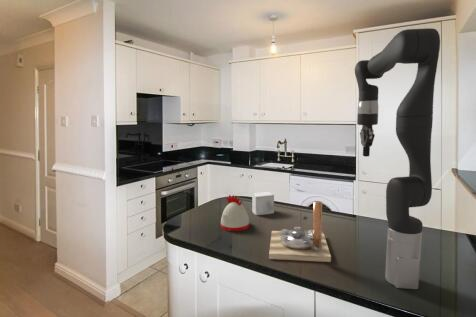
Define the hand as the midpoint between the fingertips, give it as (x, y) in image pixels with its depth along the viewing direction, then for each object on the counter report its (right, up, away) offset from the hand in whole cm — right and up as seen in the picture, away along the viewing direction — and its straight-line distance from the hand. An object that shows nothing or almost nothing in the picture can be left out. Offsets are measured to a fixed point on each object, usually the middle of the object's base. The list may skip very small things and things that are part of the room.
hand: (366, 156), depth 122 cm
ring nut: (-26, -34, -5) cm, 44 cm away
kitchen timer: (-53, -33, +24) cm, 67 cm away
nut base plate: (-28, -36, -1) cm, 46 cm away
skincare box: (-38, -30, +41) cm, 64 cm away
